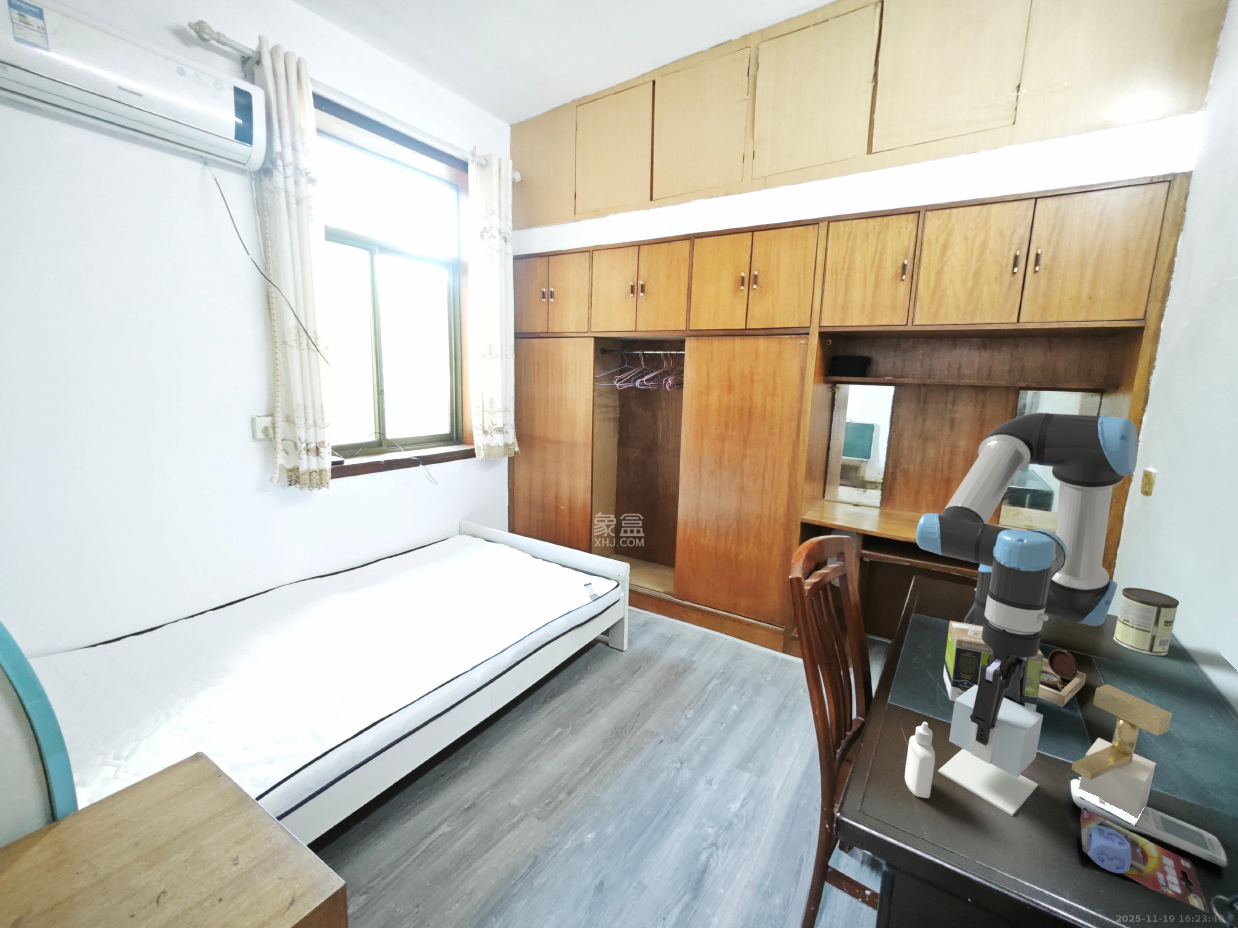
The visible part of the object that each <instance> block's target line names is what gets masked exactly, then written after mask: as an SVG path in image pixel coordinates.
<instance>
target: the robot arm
mask: <svg viewBox="0 0 1238 928" xmlns="http://www.w3.org/2000/svg"><path fill="white" fill-rule="evenodd" d="M1138 442H1139V441H1138V430H1137V426H1136V425H1135V423H1134V422H1133V421H1132V420H1131V419H1129V418H1126V417H1117V416H1109V415H1105V414H1103V415H1090V414H1089V415H1088V414H1087V415H1085V414H1084V415H1083V414H1071V413H1070V414H1068V413H1067V414H1065V413H1049V412H1035V413H1028V414H1024V415H1020V416H1017V417H1015V418H1012V419H1010V420H1008V421H1005V422H1004V423H1002V424H1000V425H998V426H997V427H996V428H994V429H992V430H991V431H990V432H989V433H988V434H987V435H986V436H985V438H983V440H982V441H981V443H980V444H979V445H978V450H977V451H978V453H977V454H978V457H977V459H976V460H975V461H974V463H973V465H972V466H971V467H970V469H969V471H968V472H967V474H966V475H965V477H964V478H963V480H962V481H961V482H960V485H959V486H958V487H957V489H956V491H955V492H954V493H953V495H952V497H951V498H950V499H949V501H948V503H947V504H946V506H945V507H944V509H943V510H942V512H941V513H940V514H939V513H932V512H931V513H929V512H927V513H924V514H922V516H921V517H920V518H919V521H918V522H917V526H916V531H915V539H916V540H915V541H916V544H917V546H918V547H919V548H920V549H921V550H924V551H927V552H931V553H934V554H937V555H939V556H944V557H949V558H954V559H958V560H962V561H965V562H966V561H967V562H971V563H975V564H979V567H978V569H977V570H978V574H977V581H976V588H975V589H976V590H975V594H974V595H975V596H974V602H973V604H972V606H971V607H970V609H969V611H968V613H967V614H966V615H965V617H964V619H963V623H967V624H973V625H979V626H983V630H982V640H983V642H984V643H985V644H986V645H988V646H989V647H990V648H991V649H992V650H993V653H992V654H990V655H989V657H988V660H987V664H988V666H986V665H984V664H983V665H982V666H981V672H980V681H979V685H978V690H977V694H976V699H975V703H974V708H973V712H972V715H970V719H971V722H973V723H975V724H976V726H975V732H974V738H973V745H972V751H971V754H972V755H974V756H975V757H977V758H979V759H981V760H983V761H985V762H986V763H988V764H990V763H991V762H992V756H993V749H994V743H995V737H996V731H997V727H996V726H995V723H996V720H997V717H998V713H999V710H1000V707H1001V704H1002V700H1003V697H1004V698H1006V699H1008V700H1011V701H1013V702H1015V703H1017V704H1019V705H1022V706H1024V707H1025V703H1023V702H1021V701H1020V699H1022V700H1023V699H1024V697H1025V696H1024V695H1025V686H1026V677H1027V667H1028V660H1029V657H1033V656H1035V655H1037V653H1038V650H1040V643H1041V637H1042V635H1041V632H1040V631H1041V630H1042V629H1043V625H1044V622H1047V621H1048V620H1049V616H1048V615H1051V616H1054V617H1058V618H1060V619H1061V618H1062V619H1065V620H1067V621H1071V622H1075V623H1077V624H1084V625H1087V626H1092V627H1099V626H1102V625H1103V623H1104V621H1105V620H1106V617H1107V614H1108V613H1109V610H1110V607H1111V605H1112V601H1113V599H1114V597H1115V594H1116V591H1117V588H1118V583H1117V582H1116V581H1114V580H1112V579H1110V574H1109V572H1108V571H1107V570H1106V568H1104V567H1103V561H1104V560H1103V558H1104V552H1105V544H1106V539H1107V538H1106V537H1107V530H1108V522H1109V515H1110V508H1111V500H1112V494H1113V487H1114V486H1116V485H1119V484H1121V483H1122V482H1123V480H1124V478H1125V476H1131V475H1133V474H1134V472H1135V470H1136V467H1137V462H1138V449H1139V448H1138V445H1139V444H1138ZM1028 465H1038V466H1045V467H1050V468H1051V467H1052V469H1051V473H1052V477H1053V478H1054V479H1055V480H1056V481H1058V482H1059V489H1058V491H1059V493H1058V503H1057V514H1056V515H1057V516H1056V527H1055V533H1053V532H1051V531H1048V530H1043V529H1031V530H1030V529H1029V530H1025V529H1018V528H1017V529H1015V528H1014V529H1013V528H1008V527H1003V526H999V525H993V524H988V523H989V521H990V519H991V518H992V516H993V514H994V513H995V511H996V509H997V508H998V506H999V504H1000V502H1001V501H1002V498H1003V497H1004V495H1005V493H1006V492H1007V490H1008V488H1009V487H1010V485H1011V483H1012V481H1014V480H1013V479H1014V478H1015V476H1016V474H1017V472H1019V471H1021V470H1023V469H1025V467H1027V466H1028ZM1046 614H1047V615H1046Z"/></svg>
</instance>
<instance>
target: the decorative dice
mask: <svg viewBox="0 0 1238 928" xmlns="http://www.w3.org/2000/svg"><path fill="white" fill-rule="evenodd" d="M1086 840H1087V841H1086V846H1087V854H1088V857H1090V859H1091V860H1092V861H1093V862H1094V863H1095V864H1096V865H1097V866H1099V867H1100V868H1102V869H1105V870H1106V871H1109V872H1111V873H1114V874H1125V873H1128V872H1129V871H1130V867H1131V864H1132V863H1131V862H1132V849H1131V844H1130V842H1129V841H1128V840H1127V838H1126V837H1124V836H1123V835H1122V834H1121V833H1119V832H1117V831H1116V830H1115V829H1112V828H1111V827H1107V826H1104V825H1092V826H1090V827H1089V829H1088V833H1087V839H1086Z"/></svg>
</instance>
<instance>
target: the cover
mask: <svg viewBox="0 0 1238 928" xmlns="http://www.w3.org/2000/svg"><path fill="white" fill-rule="evenodd" d="M977 690H978V686H977V685H974V686H973V687H971V688H970V689H969V690H967V691H966V692H965V693H963V694H962V695H961V696H959V697H958V698H956V699H955V702H954V705H953V711H952V717H951V724H950V731H949V738H948V742H950V743H952V744H954V745H955V746H958V747H959V748H961V749H965V750H967V751H968V752H970V753H971V751H972V745H973V738H974V732H975V726H976V724H975V723H973V722H971V719H970V715H972V712H973V708H974V703H975V699H976V694H977ZM1043 719H1044V714H1042V713H1039V712H1037V711H1036V712H1035V711H1033V710H1031V709H1028V708H1026V707H1024V706H1022V705H1019V704H1017V703H1015V702H1013V701H1011V700H1008V699H1006V698H1004V697H1003V700H1002V704H1001V707H1000V710H999V713H998V717H997V720H996V723H995V726H996V727H997V731H996V737H995V743H994V749H993V756H992V762H991V763H990V764H992V765H994V766H996V767H998V768H1000V769H1001V770H1003V771H1005V772H1007V773H1009V774H1011V775H1012V776H1014V777H1016V778H1018V776H1019V775H1022V773H1023V772H1024V771H1025V770H1026V769H1027V768H1028V767H1029V765H1030V764H1032V763H1033V761H1034V760H1035V759H1036V757H1037V752H1038V747H1039V741H1040V736H1041V729H1042V724H1043Z"/></svg>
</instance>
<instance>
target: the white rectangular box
mask: <svg viewBox="0 0 1238 928" xmlns="http://www.w3.org/2000/svg"><path fill="white" fill-rule="evenodd" d="M1111 745H1112V742H1109V741H1107V740H1105V739H1103V738H1100V737H1098V738H1097V739H1096V740H1095V742H1094V743H1093V744H1092V745H1091V746H1090V748H1089V749H1088V750H1087V751H1086V753H1085V755H1084V757H1087V756H1089V755H1091V754H1093V753H1096V752H1098V751H1100V750H1102V749H1105V748H1107V747H1109V746H1111ZM1156 765H1157V763H1156V762H1155V761H1152V760H1150V759H1148V758H1145V757H1143V756H1141V755H1139V754H1137V753H1134V755H1133V759H1132V762H1128V763H1126V764H1124V765H1122V766H1120V767H1118V768H1116V769H1113V770H1111V771H1109V772H1107V773H1105V774H1103V775H1101V776H1099V777H1096V778H1094V779H1092V780H1089V779H1087V778H1085V777H1084V776H1082V775H1081V776H1080V780H1079V781H1080V782H1079V786H1078V790H1079V789H1082V790H1084V791H1086V792H1088V793H1091V794H1093V795H1096V796H1098V797H1100V798H1101V799H1102V800H1104V801H1105V802H1107V803H1109V804H1110V805H1113V806H1115V807H1117V808H1119V809H1122V810H1123V811H1125V812H1127V813H1129V814H1130V815H1132V816H1134V817H1135V818H1138V816H1139V814H1140V813H1141V811H1142V809H1143V808H1144V807H1146V808H1147V806H1148V800H1149V795H1150V792H1151V787H1152V782H1153V778H1154V775H1155V774H1154V773H1155V770H1156V769H1155V768H1156Z"/></svg>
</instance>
